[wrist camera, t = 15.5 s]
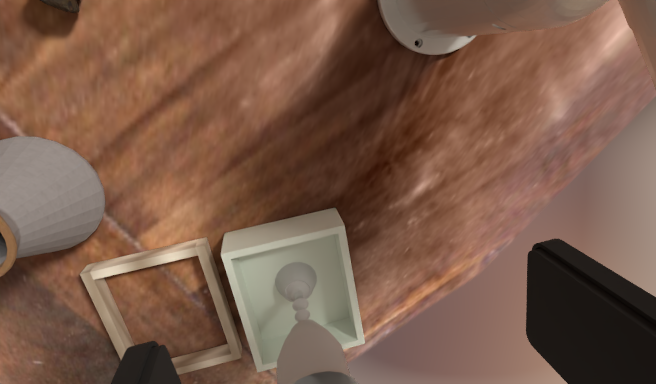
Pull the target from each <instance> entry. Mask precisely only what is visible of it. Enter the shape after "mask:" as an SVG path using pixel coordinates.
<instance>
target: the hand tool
mask: <svg viewBox="0 0 656 384" xmlns="http://www.w3.org/2000/svg"><path fill="white" fill-rule="evenodd" d="M40 1H42V2H44V3H45V4H47V5H50V6H53V7H55V8H58V9H61V10H64V11H66V12H72V13H78V12H79V6H78V4H77V0H40Z"/></svg>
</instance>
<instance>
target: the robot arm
mask: <svg viewBox="0 0 656 384" xmlns="http://www.w3.org/2000/svg"><path fill="white" fill-rule="evenodd" d="M608 1H609V0H377V2H378V6H379V10H380V14H381V17H382V19H383V21H384V24H385V26H386V27H387V29H388V30H389V32H390V33H391V35H392V36H393V37H394V38H395V39H396V40H397V41H398V42H399V43H400V44H401V45H403V46H405V47H406V48H408V49H409V50H412V51H414V52H417V53H420V54H428V55H440V54H445V53H450V52H453V51H455V50H458V49H460V48H462V47H463V46H465V45H466V44H468V43H469V42H471V41H472V40H473V39H474V38H475V37H476V36H477V35H485V34H497V33H508V32H519V31H531V30H541V29H551V28H556V27H561V26H565V25H568V24H571V23H574V22H576V21H578V20H581V19H582V18H584V17H586V16H588V15H589V14H591V13H593V12H594V11H596V10H597V9H599V8H600V7H601V6H603V5H604V4H605V3H607V2H608ZM618 1H619V3H620V6H621V8H622V10H623V13H624V15H625V18H626V20H627V23H628V25H629V27H630V28H631V29H632V30H633V33H634V35H635V38H636V41H637V43H638V46H639V48H640V51H641V53H642V56H643V59H644V61H645V64H646V66H647V69H648V71H649V74H650V76H651V79H652V82H653V84H654V87H655V89H656V0H618ZM415 41H417V45H416V46H415ZM527 265H528V266H527V313H526V316H527V317H526V318H527V319H526V334H527V338H528V340H529V342H530V343H531V345H532V346H533V347H534V348H535V349H536V350H537V352H538V353H539V354H540V355H541V356H542V357H543V358H544V359H545V360H546V361H547V362H548V363H549V364H550V365H551V366H552V367H553V368H554V370H555V371H556V372H557V373H558V374H559V375H560V376H561V377H562V378H563V379H564V380H565V381H566V382H567V383H568V384H656V297H654V296H653V295H651V294H649V293H648V292H646V291H644V290H643V289H641V288H639V287H638V286H636V285H634V284H633V283H631V282H630V281H628V280H626V279H625V278H623V277H621V276H620V275H618V274H616V273H615V272H613V271H612V270H610V269H608V268H606V267H605V266H603V265H602V264H600V263H598V262H596V261H595V260H594V259H592V258H590V257H588V256H587V255H585V254H584V253H582V252H580V251H579V250H577V249H575V248H574V247H572V246H570V245H569V244H567V243H565V242H564V241H562V240H560V239H552V240H549V241H544V242H541V243H536V244H535V245H534V246H533V248H532V251H530V252H529V253H528V264H527ZM111 384H181V381H180V379H179V376H178V374H177V372H176V369H175V367H174V364H173V362H172V360H171V357H170V355H169V352H168V350H167V348H166V346H165V345H161V346H158V344H157V343H156V342H155V341H151V342H147V343H143V344H139V345H135V346H131V347H129V348H127V350H126V351H125V353H124V355H123V358H122V360H121V362H120V364H119V367H118V369H117V371H116V373H115V376H114V378H113V380H112V382H111Z"/></svg>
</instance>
